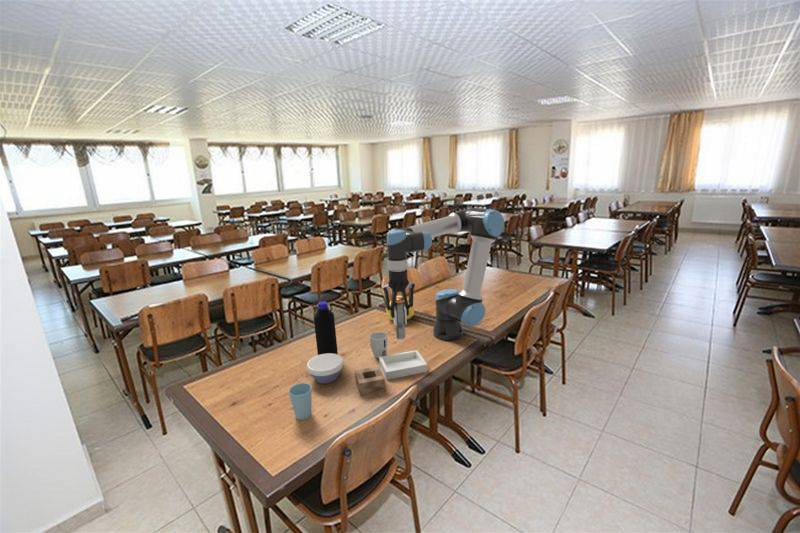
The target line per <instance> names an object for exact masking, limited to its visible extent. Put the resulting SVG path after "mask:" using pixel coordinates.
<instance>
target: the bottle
mask: <svg viewBox="0 0 800 533" xmlns="http://www.w3.org/2000/svg"><path fill="white" fill-rule="evenodd" d="M328 305H329V304H328V302H327V301H324V300H323V301H318V302H317V311H316V312H315V313H314V314H313V325H314V331H315V332H314V333H315V342H316V352H317V355H321V354H327V353H333V354H337V355H339V352H338V341H337V333H336V332H337V331H336V321H335V313H334V312H332V311H331V310H330V309H329V306H328Z"/></svg>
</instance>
